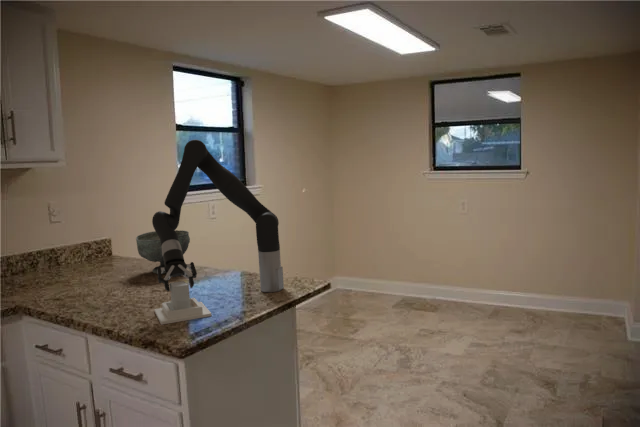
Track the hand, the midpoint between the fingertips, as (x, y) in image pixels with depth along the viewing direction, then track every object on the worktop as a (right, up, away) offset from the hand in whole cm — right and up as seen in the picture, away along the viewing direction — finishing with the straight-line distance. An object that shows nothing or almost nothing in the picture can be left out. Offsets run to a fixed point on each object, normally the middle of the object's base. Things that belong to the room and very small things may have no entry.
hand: (180, 288), depth 199 cm
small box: (0, -9, 0) cm, 9 cm away
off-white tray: (+1, -9, 0) cm, 10 cm away
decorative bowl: (-28, -2, +76) cm, 81 cm away
